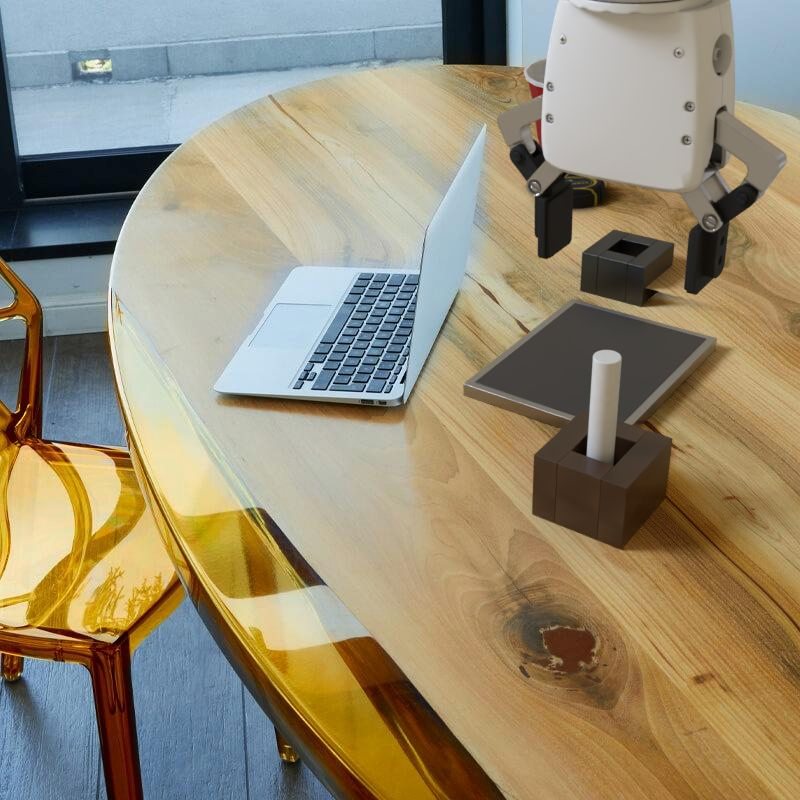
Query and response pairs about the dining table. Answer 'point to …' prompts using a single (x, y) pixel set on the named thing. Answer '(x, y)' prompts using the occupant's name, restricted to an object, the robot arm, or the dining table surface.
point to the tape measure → (586, 191)
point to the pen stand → (601, 481)
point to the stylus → (604, 405)
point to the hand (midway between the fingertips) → (624, 267)
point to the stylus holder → (625, 266)
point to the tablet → (590, 365)
